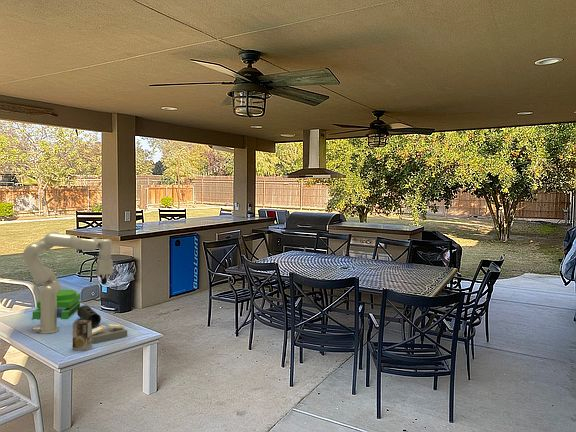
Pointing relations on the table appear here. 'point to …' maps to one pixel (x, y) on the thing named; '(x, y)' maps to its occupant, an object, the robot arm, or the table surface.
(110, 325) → the far rocker
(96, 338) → the switch block
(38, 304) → the tank
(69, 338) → the table surface
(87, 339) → the coffee box
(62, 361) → the table surface
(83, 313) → the muzzle brake
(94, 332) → the block
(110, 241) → the robot arm
